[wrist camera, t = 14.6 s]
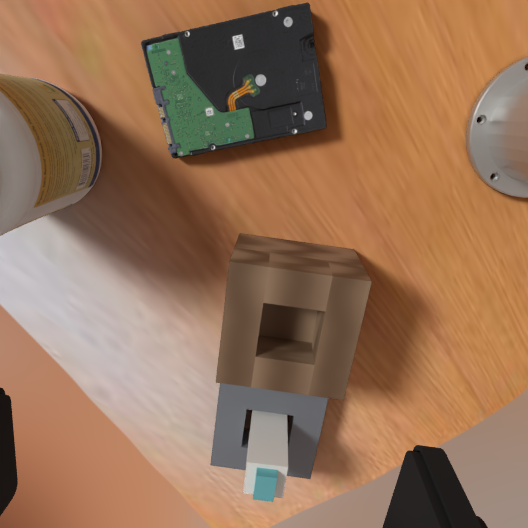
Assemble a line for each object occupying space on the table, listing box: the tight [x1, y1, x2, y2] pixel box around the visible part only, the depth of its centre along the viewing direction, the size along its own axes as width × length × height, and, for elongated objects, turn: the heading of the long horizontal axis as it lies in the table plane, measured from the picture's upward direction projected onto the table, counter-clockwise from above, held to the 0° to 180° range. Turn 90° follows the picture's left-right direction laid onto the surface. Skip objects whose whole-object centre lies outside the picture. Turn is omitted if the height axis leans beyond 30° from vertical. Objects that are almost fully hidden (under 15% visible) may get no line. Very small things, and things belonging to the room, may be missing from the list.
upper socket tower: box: [216, 233, 372, 400], centre depth 41 cm, size 12×12×9 cm
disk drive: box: [141, 3, 326, 158], centre depth 38 cm, size 10×3×15 cm
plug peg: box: [243, 410, 288, 502], centre depth 46 cm, size 4×4×11 cm
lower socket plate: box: [211, 383, 328, 479], centre depth 50 cm, size 12×12×3 cm
